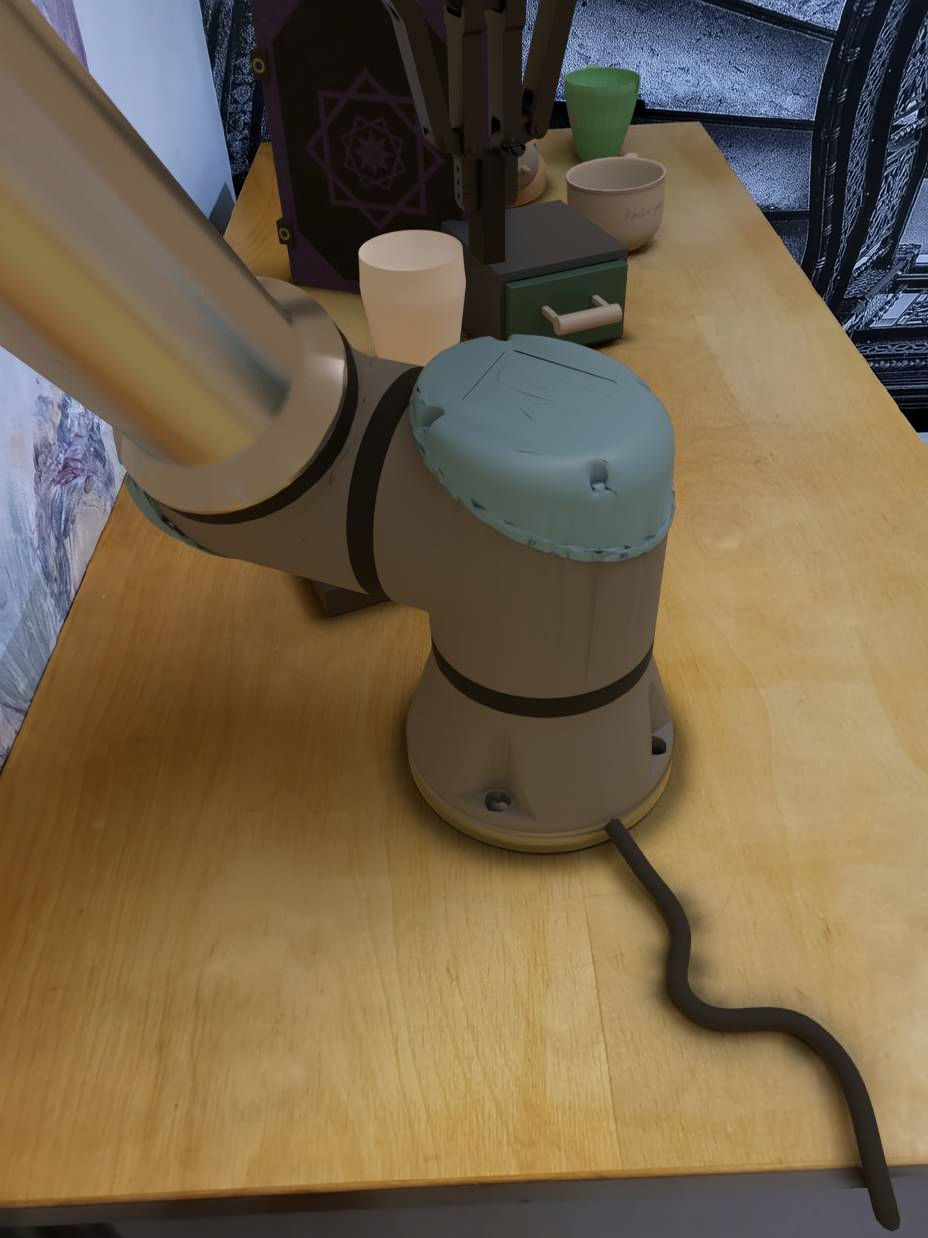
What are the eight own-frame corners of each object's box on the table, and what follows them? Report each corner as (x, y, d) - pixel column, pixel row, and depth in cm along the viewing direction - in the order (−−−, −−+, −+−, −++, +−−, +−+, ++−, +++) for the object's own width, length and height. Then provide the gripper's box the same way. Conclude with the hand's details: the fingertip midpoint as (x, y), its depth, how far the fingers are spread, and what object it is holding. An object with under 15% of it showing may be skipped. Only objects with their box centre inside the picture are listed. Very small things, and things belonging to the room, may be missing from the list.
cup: (457, 408, 88) (452, 274, 80) (358, 400, 89) (343, 268, 81) (477, 359, 94) (474, 231, 86) (384, 353, 96) (372, 226, 88)
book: (511, 292, 106) (511, -45, 86) (491, 317, 102) (485, -32, 82) (313, 266, 113) (270, -52, 93) (286, 288, 109) (235, -40, 89)
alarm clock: (548, 89, 128) (542, 147, 111) (547, 165, 134) (541, 231, 117) (416, 91, 130) (389, 148, 112) (420, 166, 136) (396, 231, 119)
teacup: (635, 269, 108) (641, 193, 103) (546, 251, 113) (548, 177, 107) (685, 225, 117) (693, 153, 112) (601, 210, 121) (605, 140, 116)
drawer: (646, 354, 92) (653, 281, 87) (531, 382, 89) (531, 307, 84) (563, 285, 104) (565, 217, 99) (458, 307, 101) (456, 238, 96)
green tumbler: (641, 168, 132) (647, 84, 125) (566, 172, 132) (569, 88, 125) (621, 134, 143) (626, 55, 136) (552, 138, 143) (554, 59, 136)
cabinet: (621, 338, 96) (628, 247, 91) (499, 366, 93) (498, 273, 87) (557, 284, 106) (560, 198, 100) (444, 308, 103) (440, 221, 97)
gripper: (565, -206, 56) (551, 223, 71) (339, -196, 53) (376, 253, 68) (629, -204, 51) (600, 260, 66) (383, -192, 47) (413, 294, 63)
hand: (486, 256), depth 67 cm, fingers closed
